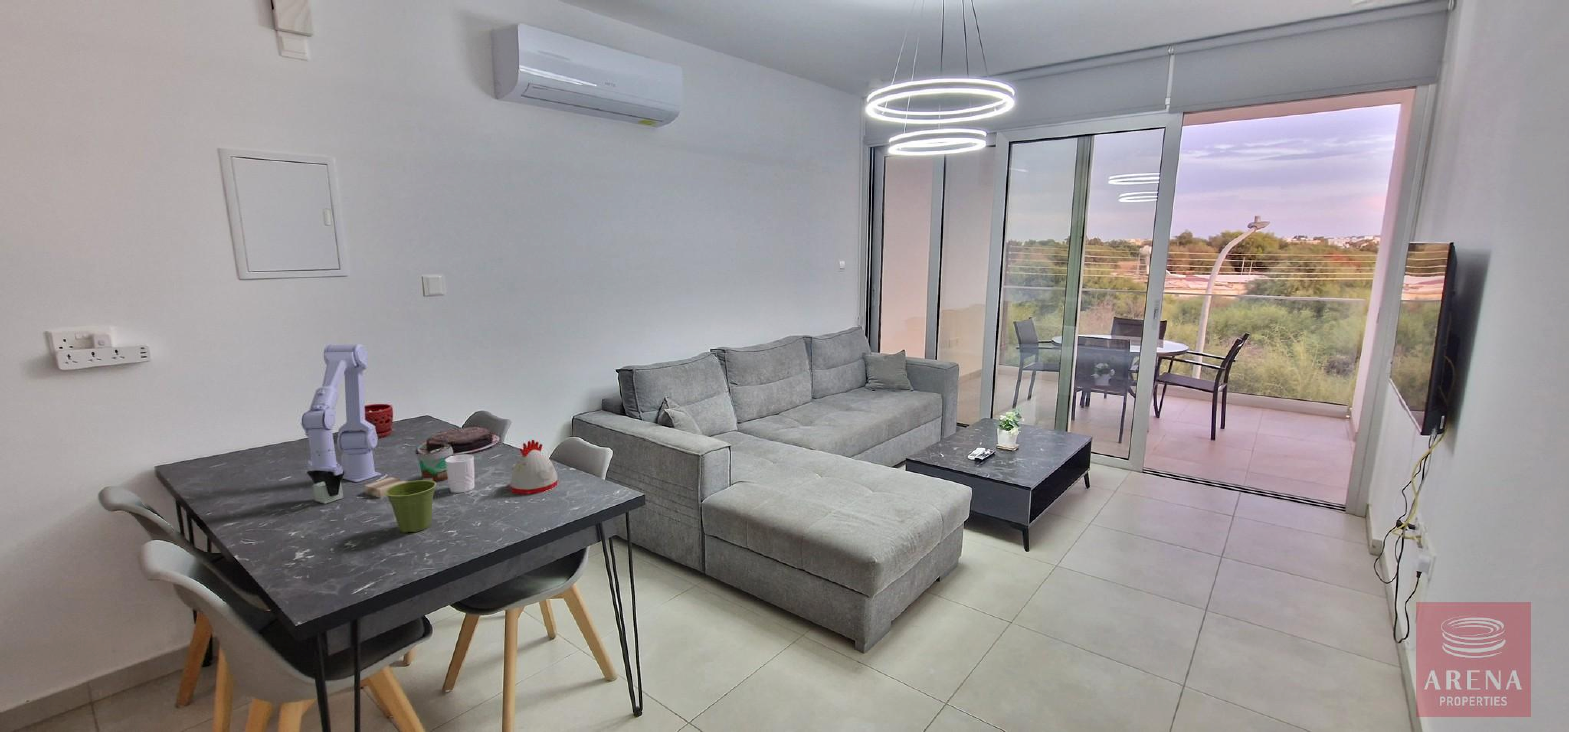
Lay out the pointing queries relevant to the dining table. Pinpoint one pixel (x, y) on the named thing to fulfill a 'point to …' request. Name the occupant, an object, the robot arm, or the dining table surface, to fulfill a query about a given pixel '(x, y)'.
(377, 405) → the plant pot
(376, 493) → the oak block
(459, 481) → the white cup
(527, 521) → the dining table surface
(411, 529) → the plant pot
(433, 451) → the food container
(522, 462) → the kitchen timer
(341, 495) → the sage cube
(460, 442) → the chocolate cake
